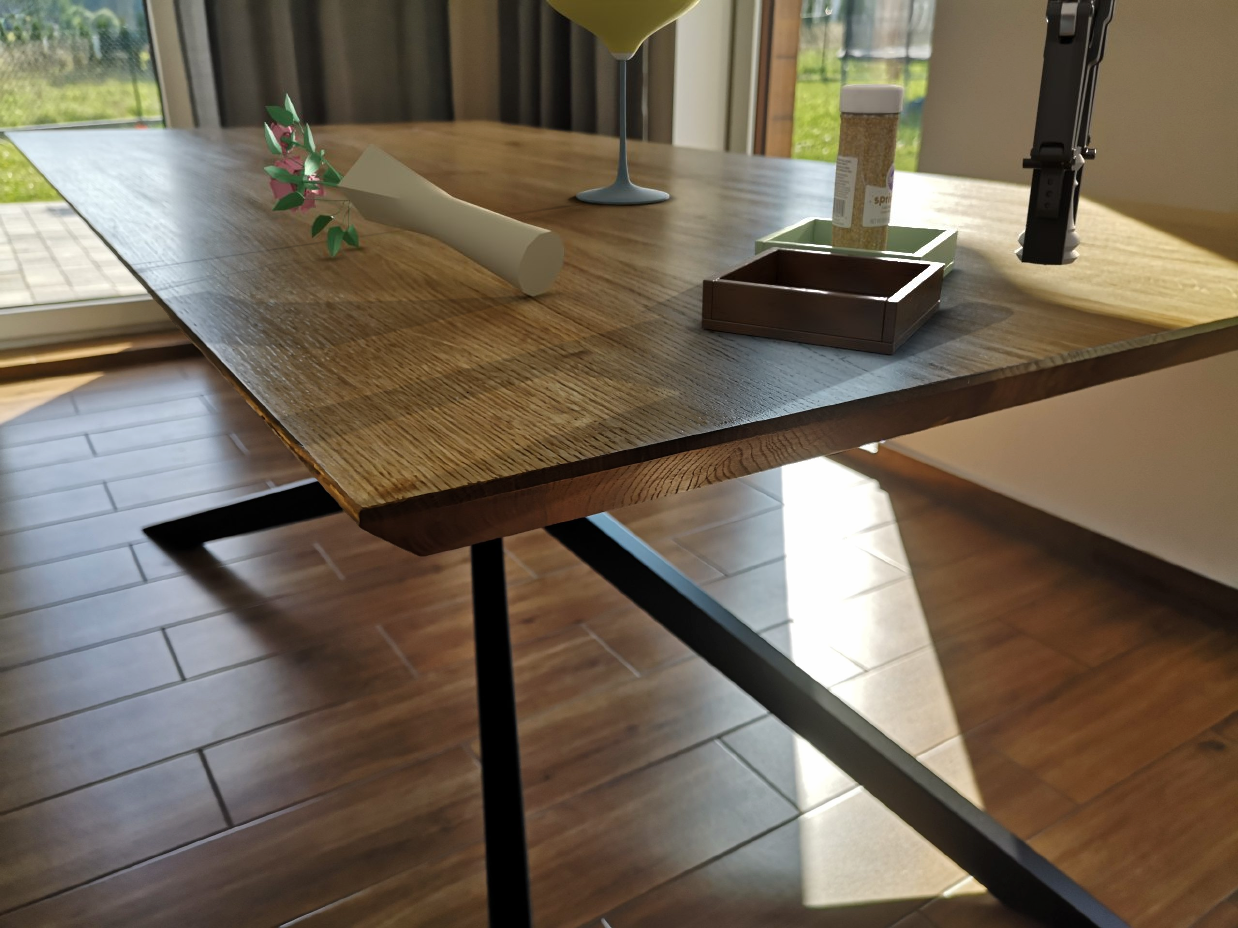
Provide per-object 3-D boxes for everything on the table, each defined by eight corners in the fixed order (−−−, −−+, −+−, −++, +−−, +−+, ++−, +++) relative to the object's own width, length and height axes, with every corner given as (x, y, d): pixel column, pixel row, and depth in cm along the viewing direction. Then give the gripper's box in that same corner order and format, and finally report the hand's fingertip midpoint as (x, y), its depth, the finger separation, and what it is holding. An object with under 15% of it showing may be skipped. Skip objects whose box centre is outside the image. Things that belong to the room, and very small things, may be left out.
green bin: (953, 269, 83) (958, 229, 82) (915, 301, 73) (921, 256, 72) (806, 254, 89) (809, 217, 87) (752, 283, 79) (755, 240, 77)
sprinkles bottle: (888, 274, 78) (907, 86, 73) (827, 272, 79) (842, 85, 74) (883, 262, 82) (901, 83, 77) (825, 260, 83) (839, 82, 78)
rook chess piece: (1014, 253, 78) (1029, 143, 75) (1078, 256, 77) (1095, 144, 74) (1012, 264, 75) (1027, 149, 72) (1079, 267, 73) (1097, 150, 70)
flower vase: (494, 399, 76) (218, 241, 93) (601, 321, 83) (325, 186, 99) (475, 263, 68) (175, 116, 84) (596, 189, 75) (296, 66, 91)
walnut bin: (939, 309, 71) (945, 263, 70) (892, 355, 61) (897, 302, 60) (770, 290, 76) (772, 246, 75) (701, 328, 66) (702, 279, 65)
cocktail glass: (536, 188, 126) (530, -38, 116) (680, 185, 129) (685, -36, 119) (555, 212, 110) (549, -49, 100) (718, 207, 113) (728, -47, 103)
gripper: (1153, -125, 58) (1089, 285, 67) (1167, -95, 72) (1113, 240, 81) (1013, -113, 61) (970, 275, 70) (1053, -87, 76) (1013, 234, 84)
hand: (1046, 255), depth 76 cm, fingers closed on rook chess piece, 4 cm apart
